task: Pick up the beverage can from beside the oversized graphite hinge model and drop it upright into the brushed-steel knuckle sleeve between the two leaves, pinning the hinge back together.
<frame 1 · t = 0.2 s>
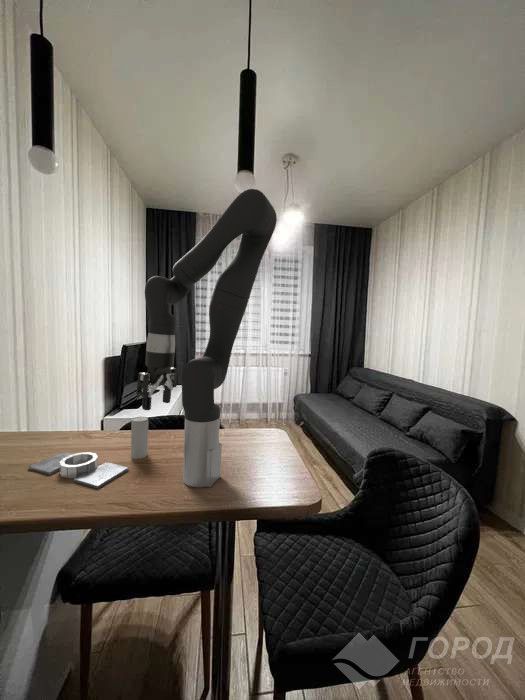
hand: (156, 406, 80), 18 cm above the table, tool pointing down, fingers open, 8 cm apart
hinge model: (79, 469, 78), on the table
beverage can: (139, 456, 87), on the table
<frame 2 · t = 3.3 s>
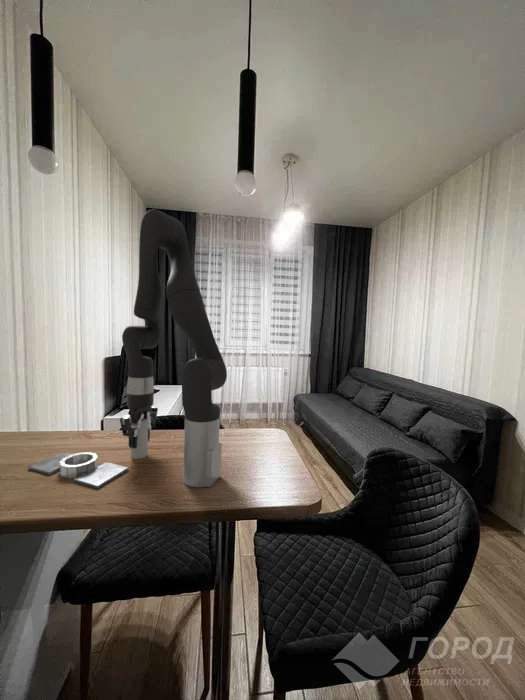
hand: (139, 444, 87), 4 cm above the table, tool pointing down, fingers closed on beverage can, 5 cm apart
beverage can: (139, 456, 87), on the table, touching gripper
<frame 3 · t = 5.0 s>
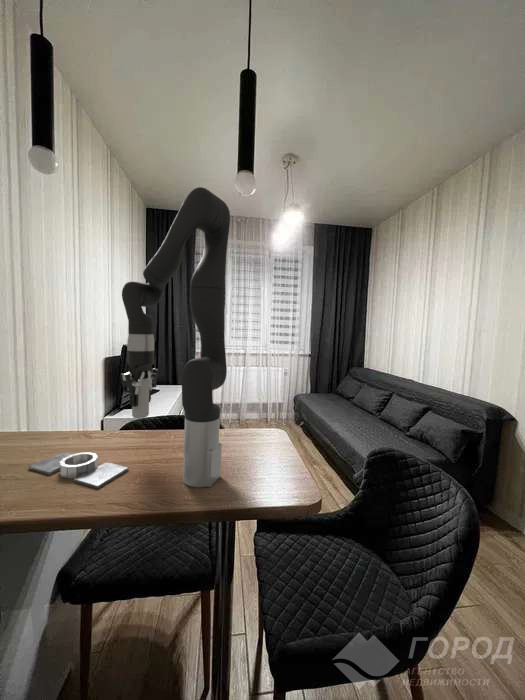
hand: (140, 403, 86), 17 cm above the table, tool pointing down, fingers closed on beverage can, 5 cm apart
beverage can: (140, 417, 86), point 13 cm above the table, touching gripper
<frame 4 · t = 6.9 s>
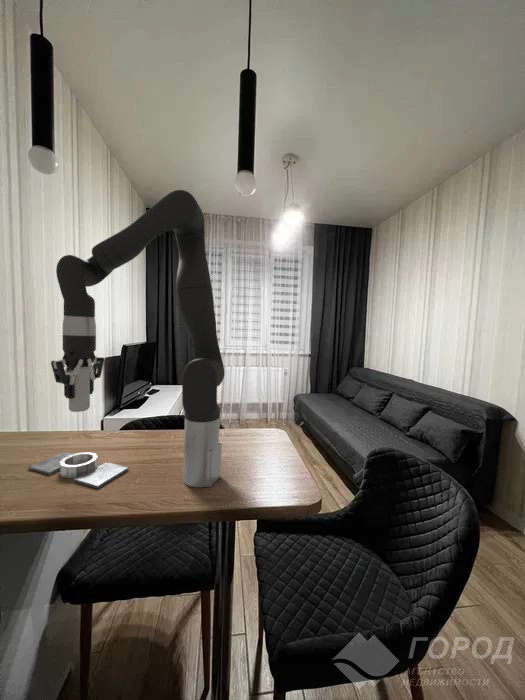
hand: (79, 395, 76), 21 cm above the table, tool pointing down, fingers closed on beverage can, 5 cm apart
beverage can: (79, 410, 76), point 17 cm above the table, touching gripper
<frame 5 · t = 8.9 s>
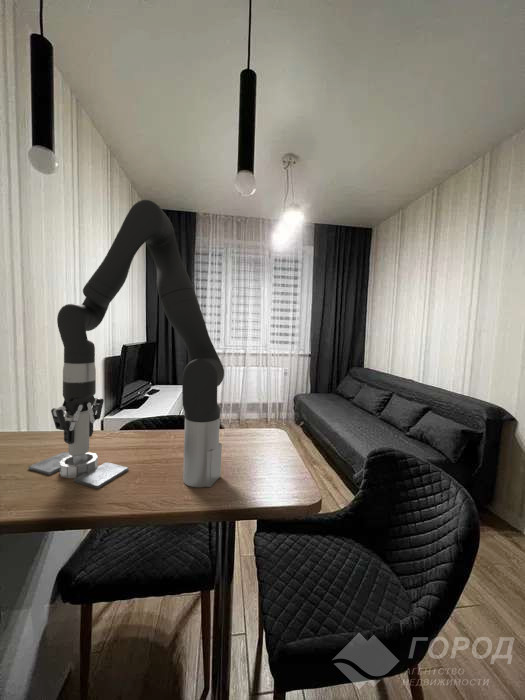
hand: (79, 439, 77), 9 cm above the table, tool pointing down, fingers closed on beverage can, 5 cm apart
beverage can: (78, 453, 77), point 5 cm above the table, touching gripper
when the fingers open (5 cm above the table, at t = 10.5 s): beverage can drops 1 cm, resting in hinge model.
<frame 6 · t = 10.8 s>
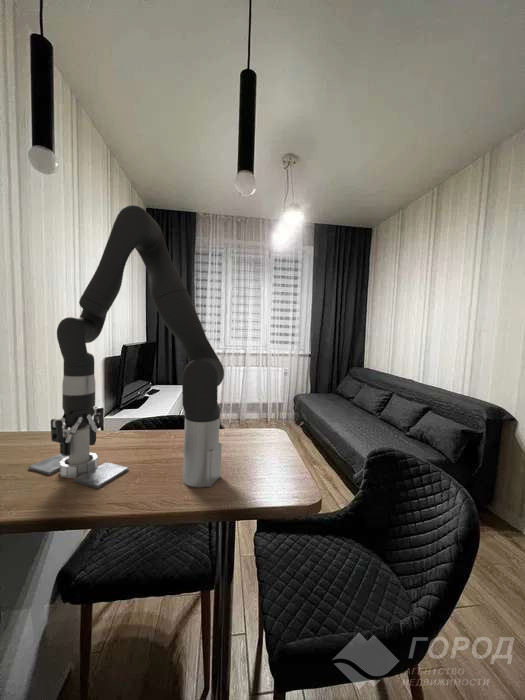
hand: (79, 449, 77), 6 cm above the table, tool pointing down, fingers open, 7 cm apart
beverage can: (79, 470, 78), resting in hinge model
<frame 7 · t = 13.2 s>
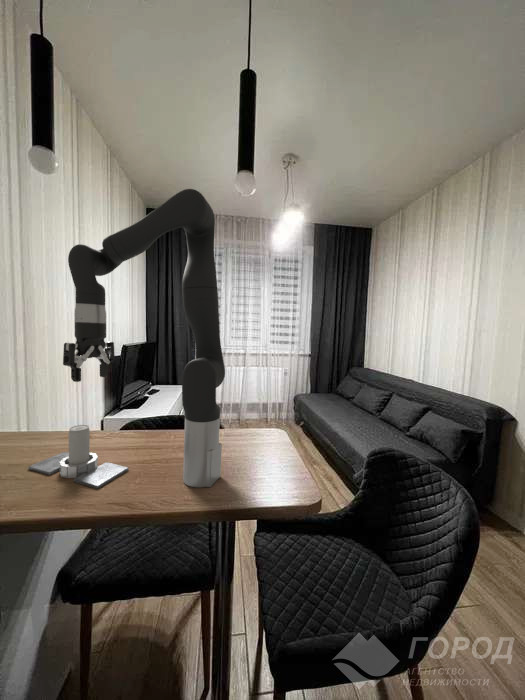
hand: (90, 379, 79), 25 cm above the table, tool pointing down, fingers open, 8 cm apart
nothing on the table moved.
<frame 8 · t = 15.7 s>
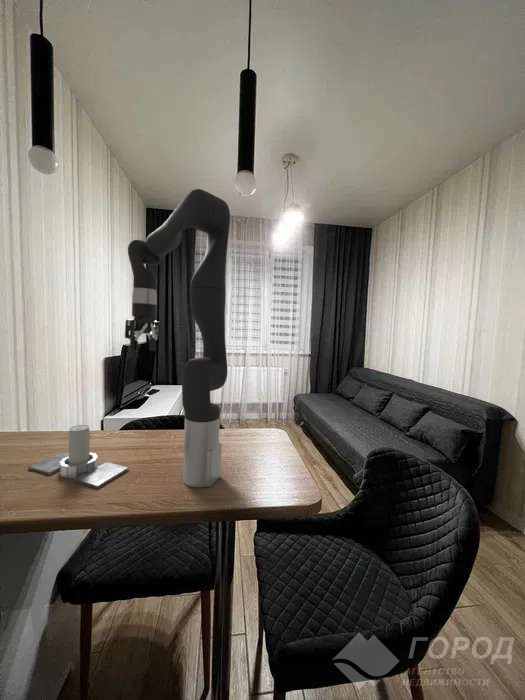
hand: (143, 351, 94), 32 cm above the table, tool pointing down, fingers open, 8 cm apart
nothing on the table moved.
at the end: beverage can 0.0 cm off-centre on the hinge model, point 0.0 cm above the hinge model's base; beverage can tilted 0°; the gripper is holding nothing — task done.
